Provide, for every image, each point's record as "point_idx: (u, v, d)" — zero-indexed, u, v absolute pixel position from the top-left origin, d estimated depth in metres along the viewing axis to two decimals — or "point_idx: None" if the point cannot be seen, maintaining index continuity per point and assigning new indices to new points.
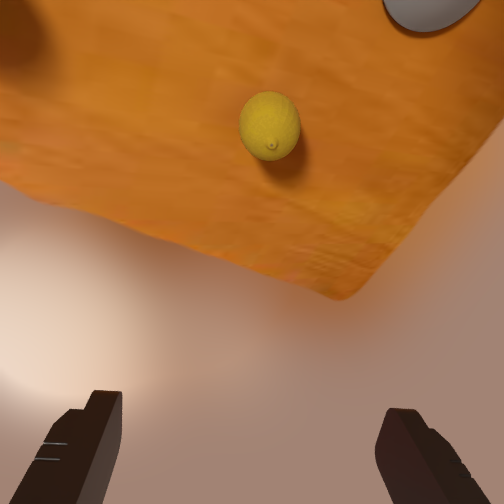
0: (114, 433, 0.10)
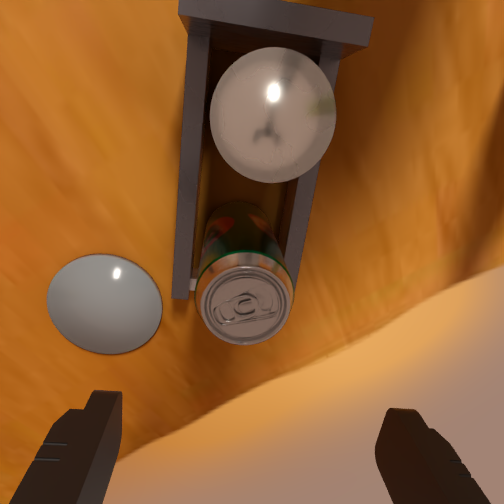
0: (114, 433, 0.10)
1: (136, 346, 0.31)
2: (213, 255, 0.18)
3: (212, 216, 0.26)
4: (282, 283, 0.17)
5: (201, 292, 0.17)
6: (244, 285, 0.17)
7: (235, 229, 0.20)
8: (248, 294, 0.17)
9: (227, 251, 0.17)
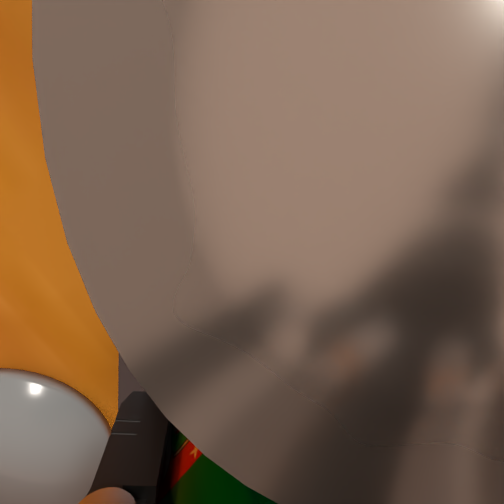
0: None
1: None
2: None
3: None
4: None
5: None
6: None
7: None
8: None
9: None
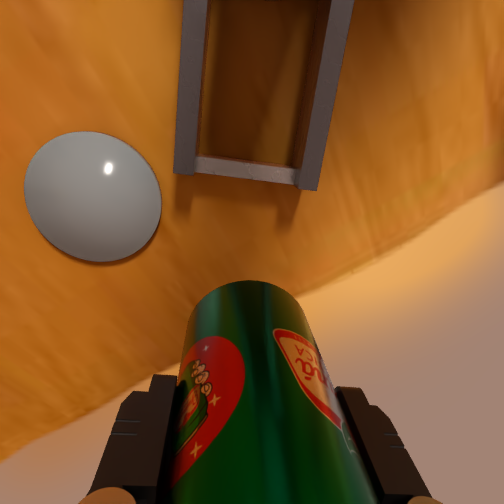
0: None
1: (131, 252, 0.26)
2: None
3: (198, 313, 0.13)
4: None
5: None
6: None
7: (249, 421, 0.08)
8: None
9: None
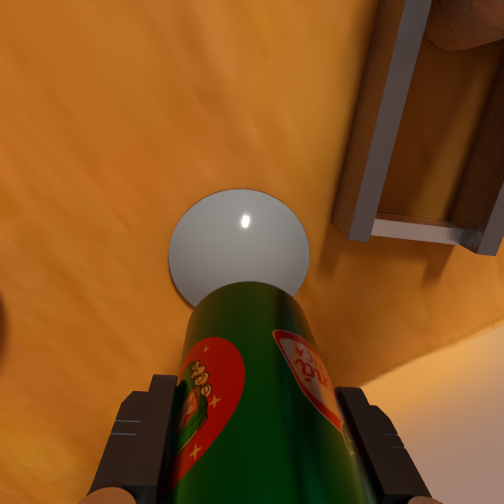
0: None
1: None
2: None
3: (198, 314, 0.13)
4: None
5: None
6: None
7: (249, 423, 0.08)
8: None
9: None
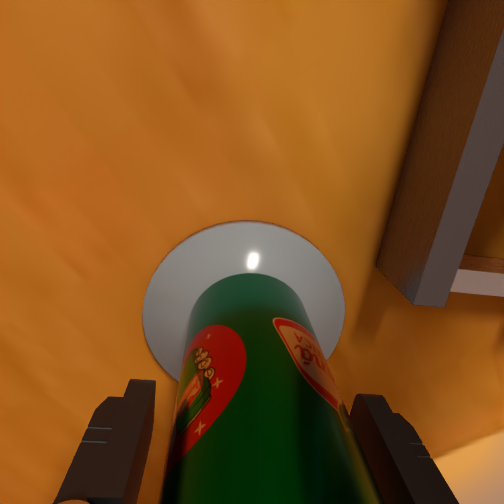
0: (149, 420, 0.10)
1: None
2: None
3: (200, 304, 0.14)
4: None
5: None
6: None
7: (250, 400, 0.08)
8: None
9: None
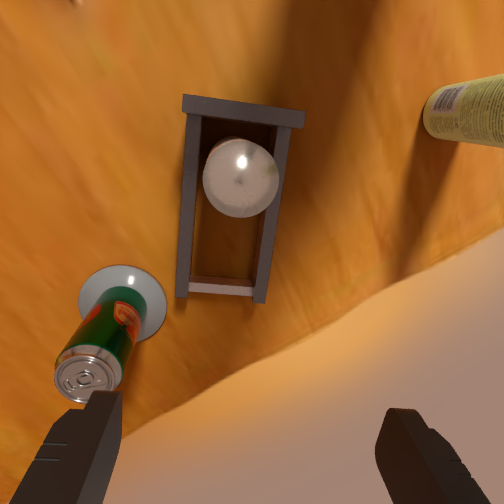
0: (114, 433, 0.10)
1: (146, 336, 0.40)
2: (68, 344, 0.28)
3: (98, 298, 0.36)
4: (106, 365, 0.27)
5: (56, 371, 0.27)
6: (81, 367, 0.26)
7: (93, 320, 0.30)
8: (85, 372, 0.27)
9: (73, 343, 0.27)
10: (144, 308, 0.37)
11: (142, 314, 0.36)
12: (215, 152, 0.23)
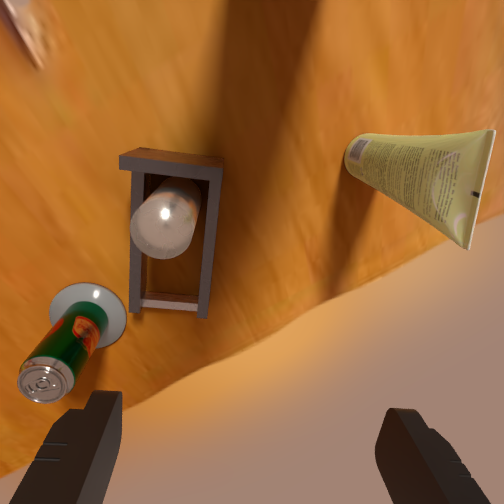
0: (114, 433, 0.10)
1: (109, 343, 0.46)
2: (30, 355, 0.34)
3: (64, 312, 0.42)
4: (58, 373, 0.33)
5: None
6: (38, 374, 0.33)
7: (53, 334, 0.36)
8: (42, 378, 0.33)
9: (33, 355, 0.33)
10: (104, 320, 0.43)
11: (101, 326, 0.42)
12: (139, 209, 0.28)
